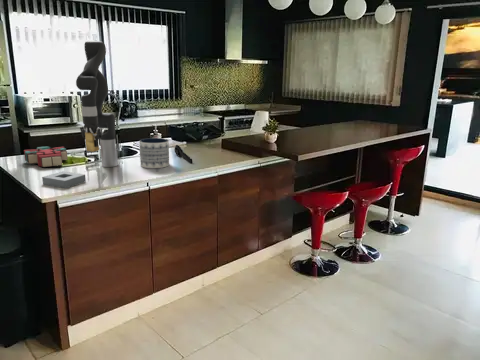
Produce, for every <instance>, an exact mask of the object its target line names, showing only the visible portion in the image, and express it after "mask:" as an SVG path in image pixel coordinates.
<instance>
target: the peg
mask: <svg viewBox="0 0 480 360" xmlns="http://www.w3.org/2000/svg"><path fill="white" fill-rule="evenodd" d="M94 134H96V133H94ZM84 136H85V137H86V139H85V145H86V146H85V147H86V151H87V152H91V153H92V152H98V151H100V146H99V145H100V142H98V147H94V138H93V135H92V133H89V132H88V133H85V134H84ZM95 137H96V136H95Z"/></svg>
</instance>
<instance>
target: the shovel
mask: <svg viewBox="0 0 480 360" xmlns="http://www.w3.org/2000/svg"><path fill="white" fill-rule="evenodd" d="M174 153H175V154H176V156H178V157H182V158H183V159H184V160H185V161H186V162H187V163H189V164H192V163H193V162H194V161H193V159H192V158H191V156H189V155H188V154H186V153H185V152H184V150H183V149H182V147H180V145H178V144H176V145H175V147H174Z"/></svg>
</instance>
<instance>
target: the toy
mask: <svg viewBox="0 0 480 360" xmlns="http://www.w3.org/2000/svg"><path fill="white" fill-rule="evenodd" d="M23 155H24V161H25V162H26V163H28V164H37V167H42V168H46V167H47V168H48V167H57V166H63V161H66V160H68V151H67V148H65V146H58V147H51V146H37V147H36V149H24V150H23Z"/></svg>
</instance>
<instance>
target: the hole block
mask: <svg viewBox="0 0 480 360" xmlns="http://www.w3.org/2000/svg"><path fill="white" fill-rule="evenodd" d="M41 178H42V179H41V181H42V185H43V186H51V187H56V188H62V189H67V188H70V187H71V188H72V187H73V186H74V187H75V186H77V185H79V184H83V183H86V181H87V180H86V178H87V177H86V174H83V173H78V172H70V171H64V170H63V171H58V172H55V173H51V174H49V175H44V176H42V177H41Z"/></svg>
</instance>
